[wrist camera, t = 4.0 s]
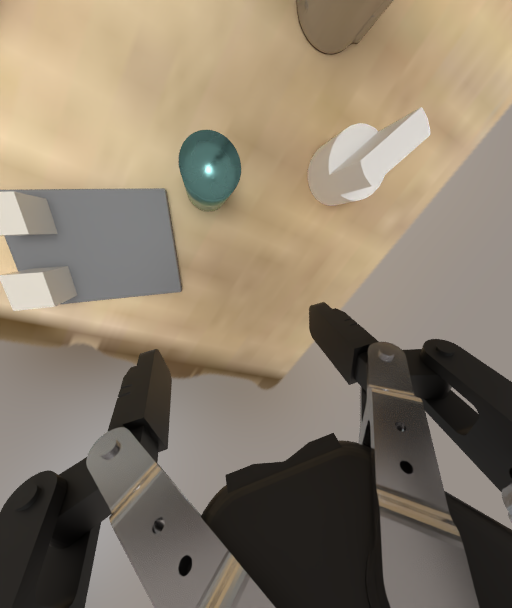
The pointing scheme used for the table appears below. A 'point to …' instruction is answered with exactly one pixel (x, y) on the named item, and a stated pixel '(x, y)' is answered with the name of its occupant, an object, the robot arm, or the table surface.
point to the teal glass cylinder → (209, 169)
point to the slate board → (105, 242)
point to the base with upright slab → (363, 158)
